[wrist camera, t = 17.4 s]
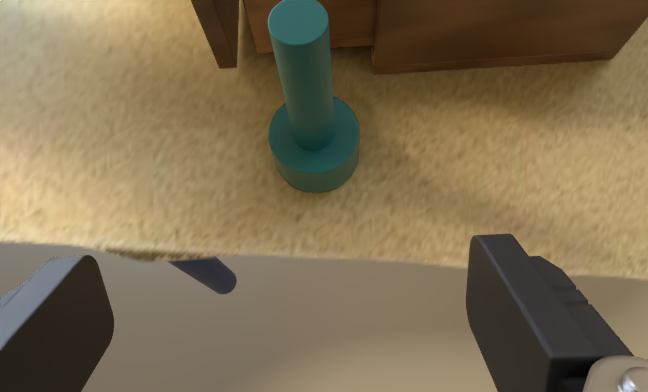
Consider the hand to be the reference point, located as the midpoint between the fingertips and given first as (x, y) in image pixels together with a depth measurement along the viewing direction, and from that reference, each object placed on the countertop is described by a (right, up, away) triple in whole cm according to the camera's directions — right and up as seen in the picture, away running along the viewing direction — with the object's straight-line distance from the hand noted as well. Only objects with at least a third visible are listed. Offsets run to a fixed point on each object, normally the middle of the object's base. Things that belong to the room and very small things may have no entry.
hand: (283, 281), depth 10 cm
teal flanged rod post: (0, +4, +19) cm, 20 cm away
